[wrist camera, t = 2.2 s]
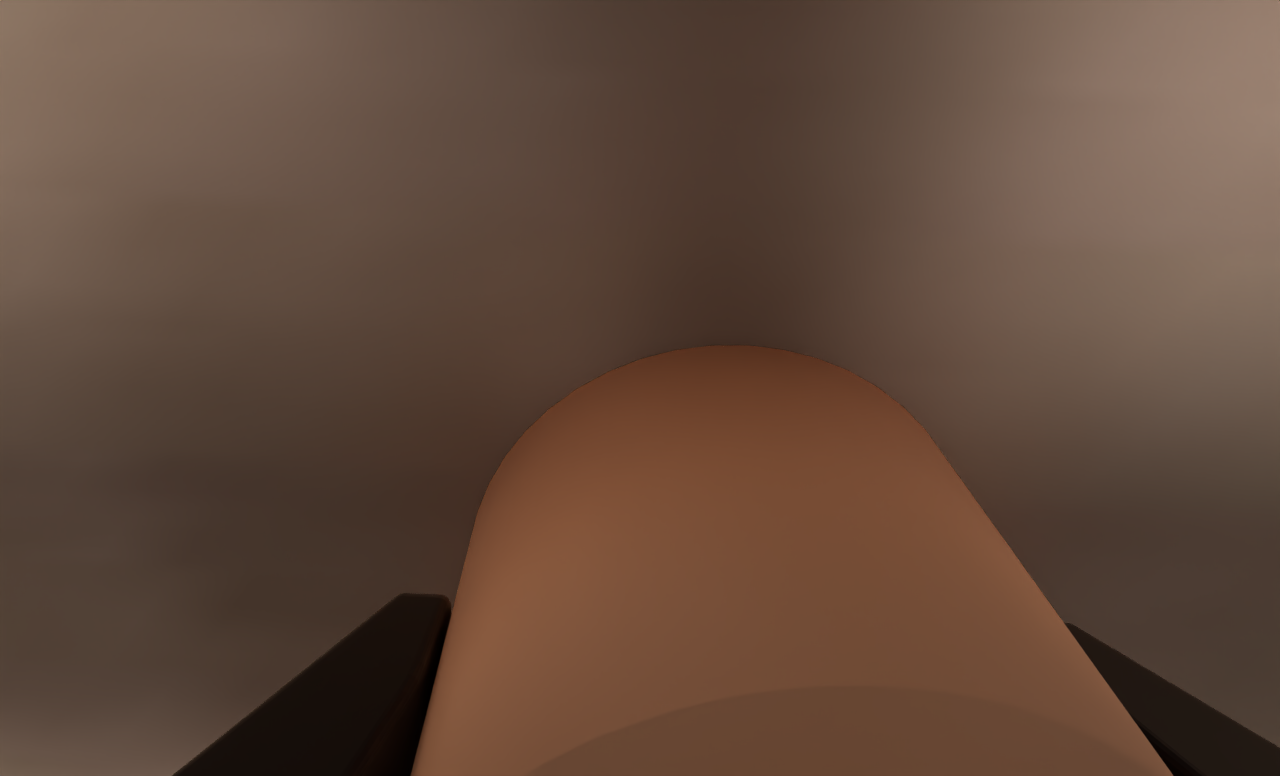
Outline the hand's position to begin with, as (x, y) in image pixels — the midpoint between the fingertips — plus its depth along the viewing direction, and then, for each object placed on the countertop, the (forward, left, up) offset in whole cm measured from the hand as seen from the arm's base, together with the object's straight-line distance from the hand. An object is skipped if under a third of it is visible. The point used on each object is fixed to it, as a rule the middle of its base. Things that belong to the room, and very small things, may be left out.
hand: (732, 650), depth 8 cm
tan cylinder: (0, 0, -1) cm, 1 cm away
